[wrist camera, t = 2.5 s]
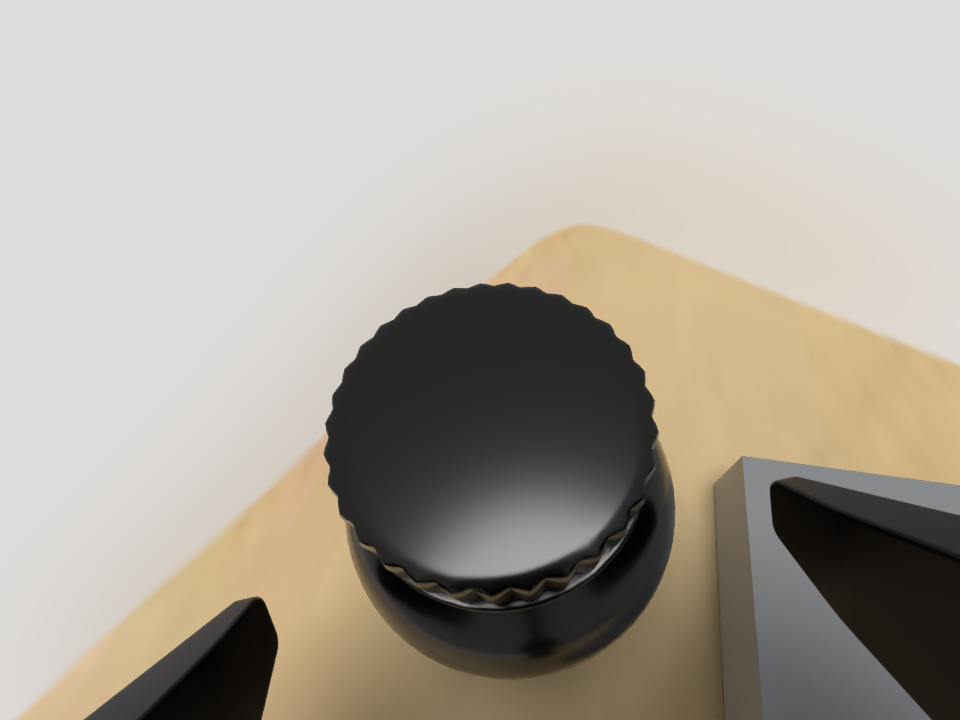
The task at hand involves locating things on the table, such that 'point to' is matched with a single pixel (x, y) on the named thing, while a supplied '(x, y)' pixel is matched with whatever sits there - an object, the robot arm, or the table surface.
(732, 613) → the riser block
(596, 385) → the supplement bottle
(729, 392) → the table surface
